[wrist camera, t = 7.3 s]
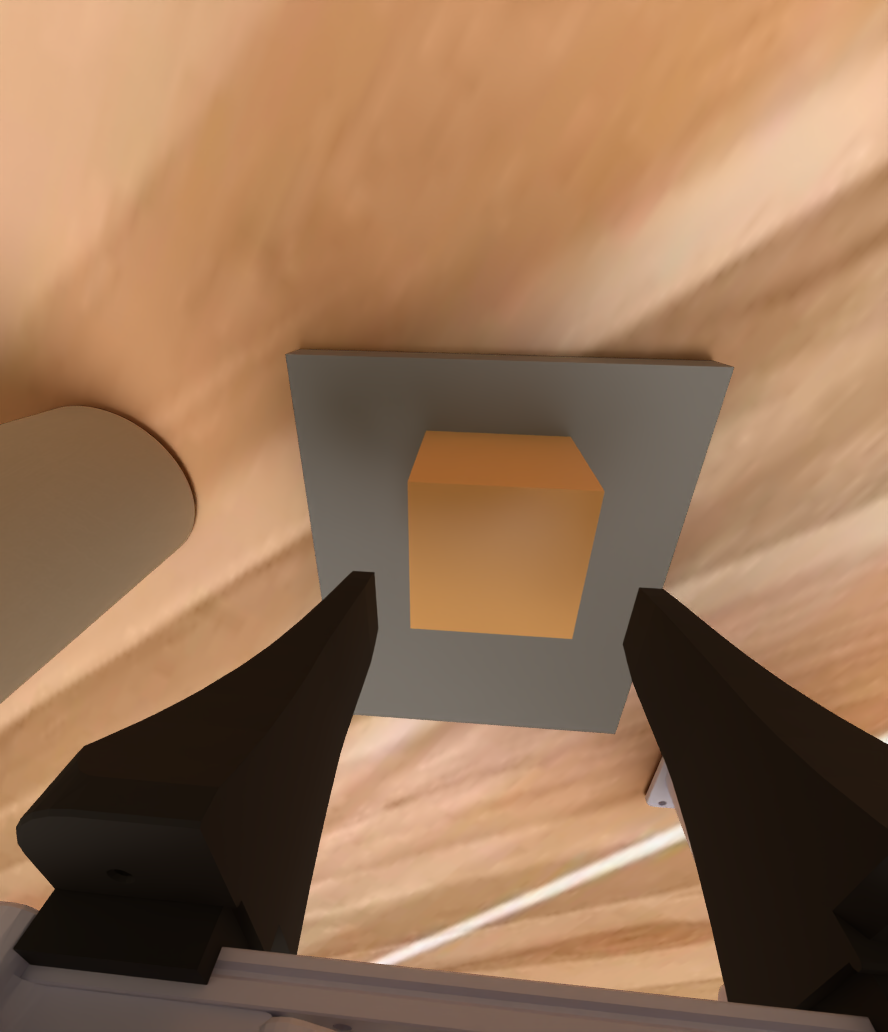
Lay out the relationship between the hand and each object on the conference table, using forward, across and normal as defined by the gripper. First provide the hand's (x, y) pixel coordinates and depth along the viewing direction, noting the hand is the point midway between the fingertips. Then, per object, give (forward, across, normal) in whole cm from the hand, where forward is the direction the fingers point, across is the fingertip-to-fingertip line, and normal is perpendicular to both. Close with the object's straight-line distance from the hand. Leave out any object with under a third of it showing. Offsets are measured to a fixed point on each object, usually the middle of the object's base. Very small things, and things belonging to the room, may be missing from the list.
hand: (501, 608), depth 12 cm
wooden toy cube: (+7, 0, 0) cm, 7 cm away
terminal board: (+8, 0, +4) cm, 9 cm away
